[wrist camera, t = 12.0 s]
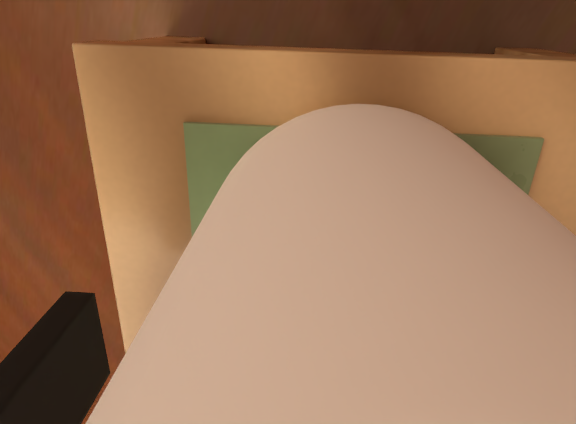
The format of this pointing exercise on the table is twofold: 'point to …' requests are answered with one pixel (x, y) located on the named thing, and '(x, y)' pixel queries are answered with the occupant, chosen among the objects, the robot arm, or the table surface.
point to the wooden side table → (280, 109)
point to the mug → (360, 289)
